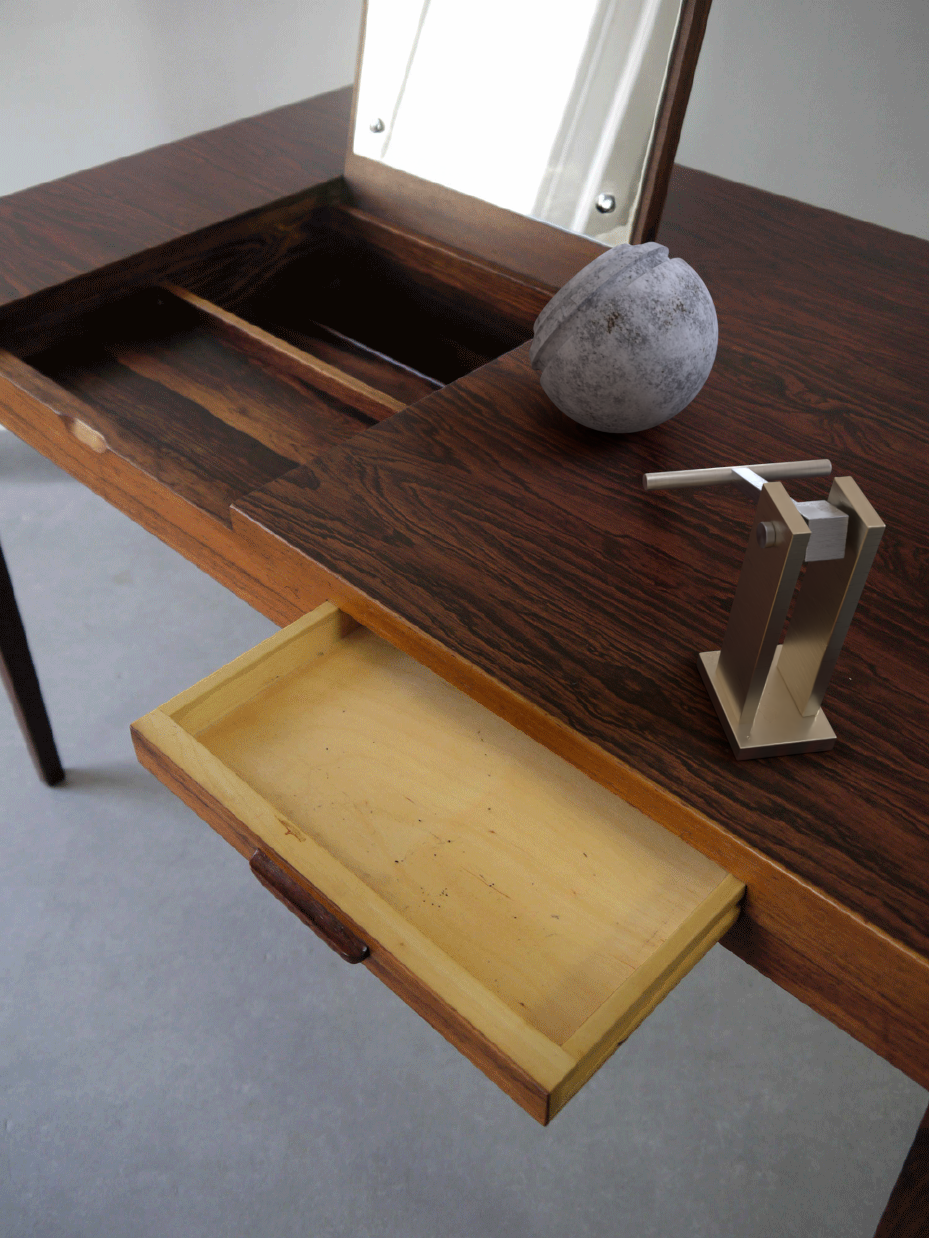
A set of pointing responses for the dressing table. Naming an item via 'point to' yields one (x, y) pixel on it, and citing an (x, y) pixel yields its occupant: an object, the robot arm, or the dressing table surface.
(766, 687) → the bracket
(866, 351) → the dressing table surface
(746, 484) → the tap lever
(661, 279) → the decorative orb
